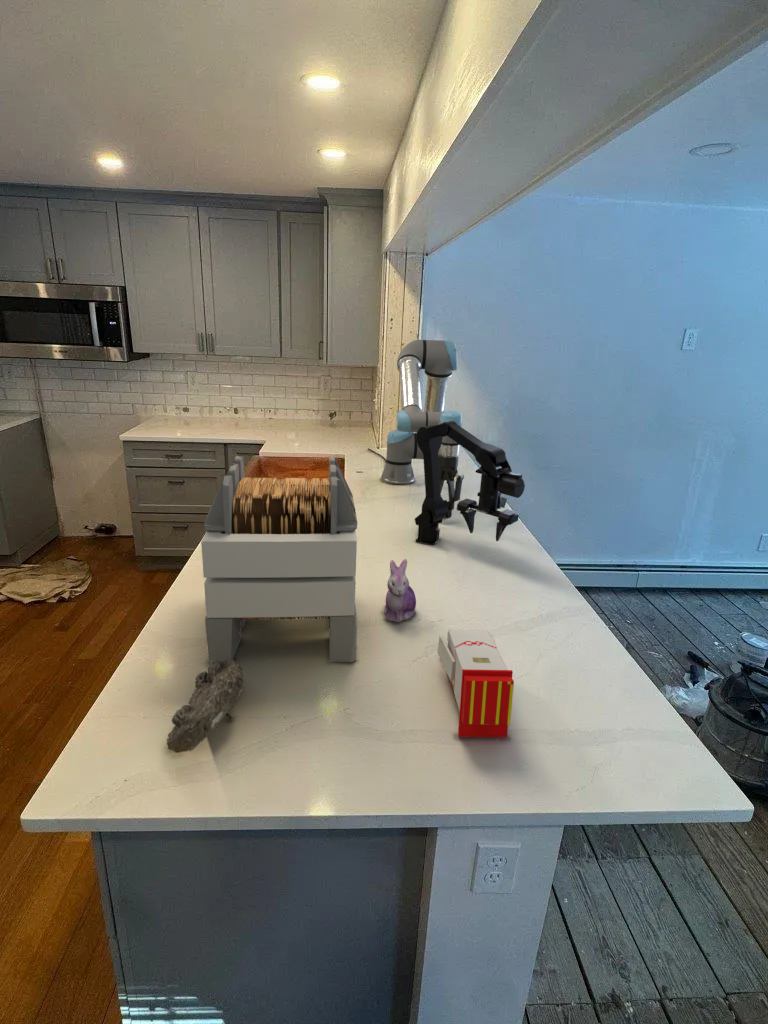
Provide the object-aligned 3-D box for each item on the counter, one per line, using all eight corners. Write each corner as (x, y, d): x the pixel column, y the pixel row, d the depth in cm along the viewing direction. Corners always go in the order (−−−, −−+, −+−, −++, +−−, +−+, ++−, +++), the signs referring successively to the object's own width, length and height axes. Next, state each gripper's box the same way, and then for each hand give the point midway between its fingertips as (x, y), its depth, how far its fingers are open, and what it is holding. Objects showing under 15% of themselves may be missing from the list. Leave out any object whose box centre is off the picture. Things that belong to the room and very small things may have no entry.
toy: (488, 613, 130) (523, 677, 101) (484, 667, 133) (517, 744, 104) (435, 612, 130) (455, 676, 101) (432, 666, 133) (451, 743, 103)
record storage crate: (228, 592, 154) (220, 446, 140) (349, 591, 158) (352, 448, 144) (205, 667, 122) (192, 487, 109) (356, 663, 126) (362, 488, 112)
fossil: (192, 660, 117) (244, 628, 112) (224, 691, 120) (276, 661, 115) (142, 746, 98) (202, 712, 93) (182, 779, 101) (242, 748, 96)
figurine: (392, 627, 141) (395, 572, 136) (374, 608, 149) (376, 556, 144) (425, 619, 145) (429, 566, 140) (405, 601, 154) (408, 550, 149)
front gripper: (529, 490, 173) (523, 538, 178) (476, 477, 184) (471, 522, 189) (512, 498, 165) (506, 548, 170) (458, 484, 176) (453, 531, 181)
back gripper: (474, 457, 202) (468, 519, 210) (434, 449, 211) (429, 508, 219) (463, 461, 196) (457, 524, 204) (422, 452, 206) (418, 512, 214)
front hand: (484, 536), depth 178 cm, fingers open, 9 cm apart
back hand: (443, 515), depth 212 cm, fingers closed on block, 4 cm apart
